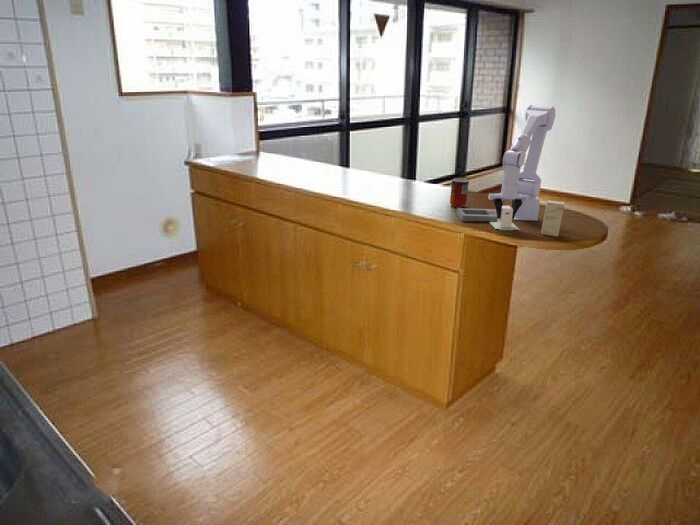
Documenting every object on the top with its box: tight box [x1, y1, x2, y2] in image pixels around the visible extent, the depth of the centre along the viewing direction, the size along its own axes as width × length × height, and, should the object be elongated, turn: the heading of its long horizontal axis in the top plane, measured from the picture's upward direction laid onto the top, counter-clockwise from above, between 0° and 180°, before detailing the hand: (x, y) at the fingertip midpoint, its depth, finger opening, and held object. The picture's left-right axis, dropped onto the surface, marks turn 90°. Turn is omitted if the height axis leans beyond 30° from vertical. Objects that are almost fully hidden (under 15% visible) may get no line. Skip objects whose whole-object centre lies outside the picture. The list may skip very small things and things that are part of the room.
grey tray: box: [456, 207, 498, 222], centre depth 206 cm, size 19×11×3 cm, turn 90°
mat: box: [488, 222, 520, 232], centre depth 196 cm, size 9×9×1 cm
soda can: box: [449, 177, 470, 209], centre depth 222 cm, size 7×7×12 cm
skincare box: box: [540, 199, 566, 237], centre depth 187 cm, size 6×4×12 cm
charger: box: [497, 205, 513, 227], centre depth 195 cm, size 4×5×7 cm
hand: (505, 218), depth 195 cm, fingers open, 5 cm apart
